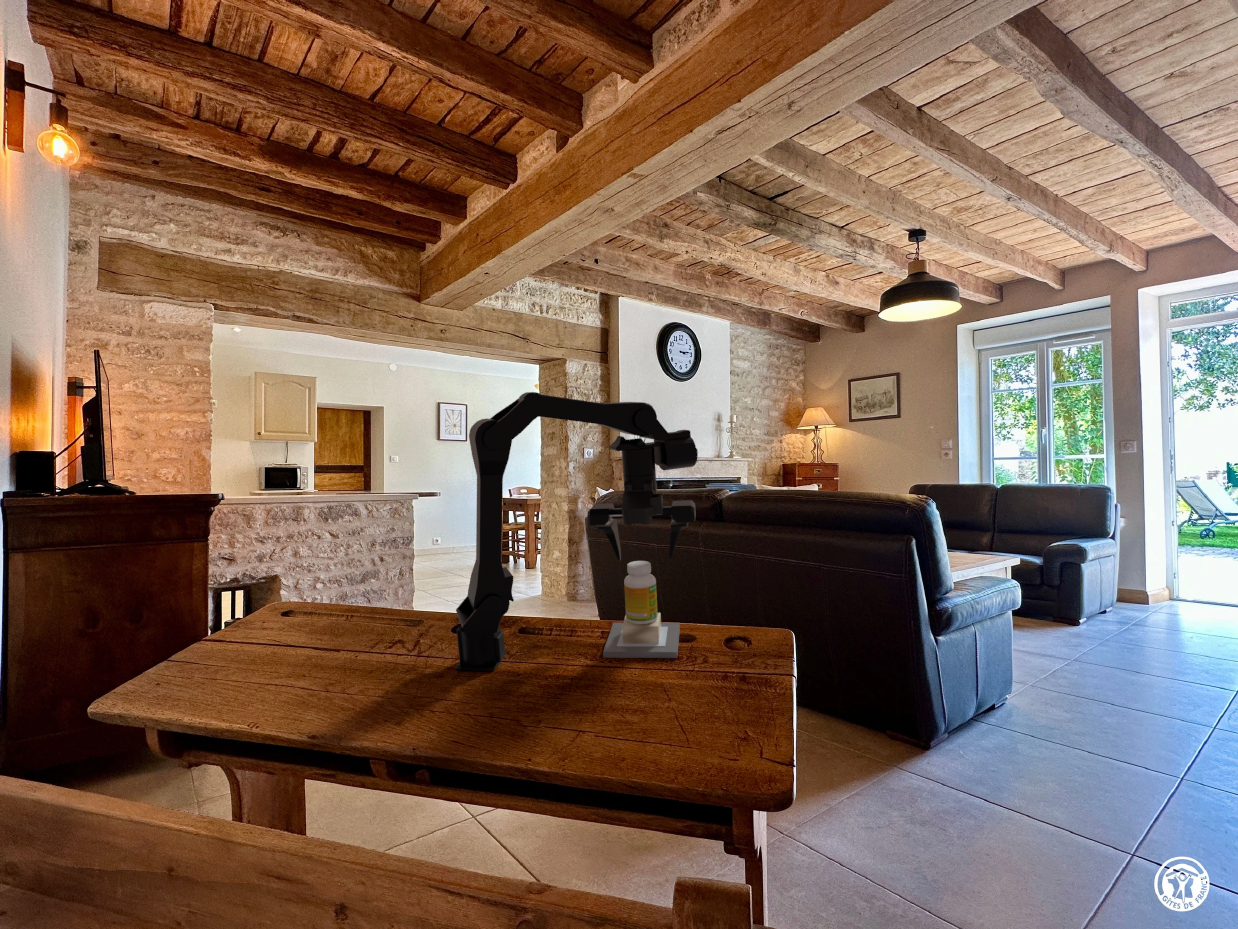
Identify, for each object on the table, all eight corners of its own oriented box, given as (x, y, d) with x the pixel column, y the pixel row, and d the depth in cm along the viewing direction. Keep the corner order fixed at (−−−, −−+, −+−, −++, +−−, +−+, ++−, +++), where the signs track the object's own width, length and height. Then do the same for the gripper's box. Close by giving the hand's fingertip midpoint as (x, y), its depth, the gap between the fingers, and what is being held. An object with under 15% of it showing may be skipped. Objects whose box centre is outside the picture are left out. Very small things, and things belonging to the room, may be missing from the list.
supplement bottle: (655, 626, 103) (652, 569, 102) (623, 625, 104) (620, 568, 103) (659, 613, 108) (657, 559, 107) (629, 612, 110) (626, 559, 108)
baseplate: (603, 657, 102) (603, 651, 102) (613, 628, 114) (613, 622, 113) (677, 658, 100) (676, 651, 100) (679, 628, 112) (679, 622, 112)
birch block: (623, 643, 104) (622, 626, 104) (627, 629, 110) (626, 612, 110) (659, 643, 103) (658, 626, 103) (661, 629, 109) (660, 612, 109)
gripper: (577, 484, 103) (584, 575, 105) (691, 479, 100) (696, 573, 102) (590, 473, 114) (596, 556, 116) (693, 468, 111) (697, 553, 113)
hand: (644, 559), depth 112 cm, fingers open, 9 cm apart
